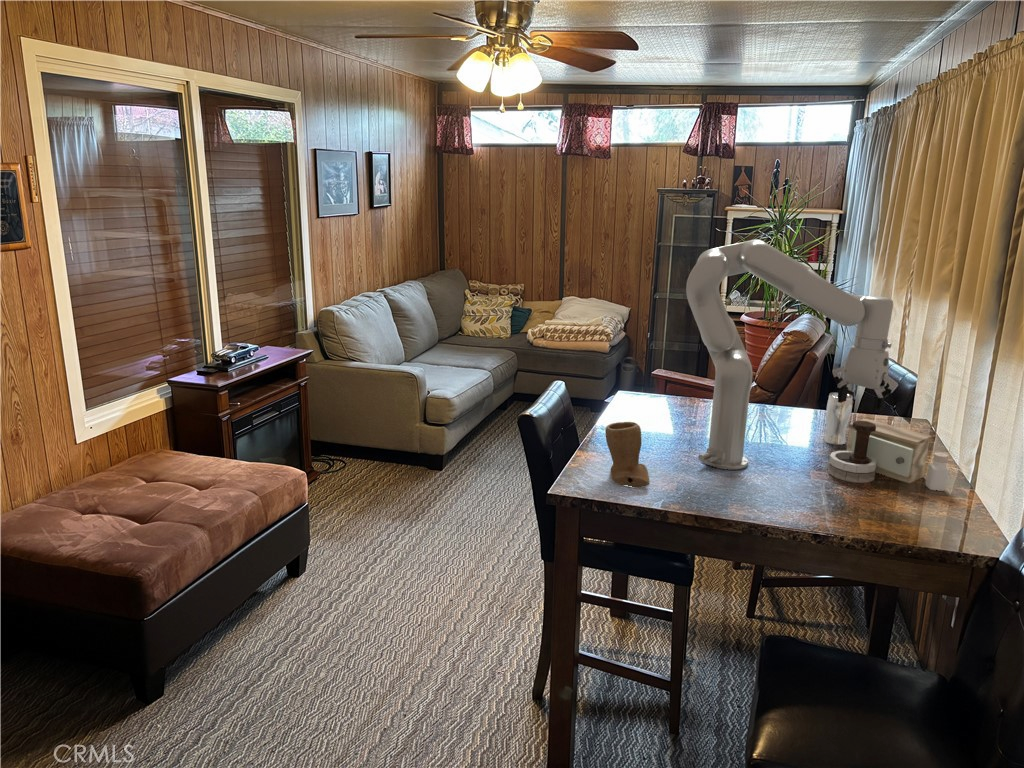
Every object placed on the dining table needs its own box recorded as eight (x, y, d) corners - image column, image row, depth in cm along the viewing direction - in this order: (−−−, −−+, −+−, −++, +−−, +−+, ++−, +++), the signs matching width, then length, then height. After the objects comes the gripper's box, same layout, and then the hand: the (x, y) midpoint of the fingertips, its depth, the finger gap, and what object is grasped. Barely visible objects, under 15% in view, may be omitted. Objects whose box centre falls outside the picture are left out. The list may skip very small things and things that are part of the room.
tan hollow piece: (603, 466, 202) (606, 415, 198) (646, 469, 200) (650, 417, 197) (602, 488, 187) (605, 433, 183) (649, 491, 186) (653, 435, 182)
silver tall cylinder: (851, 444, 224) (858, 397, 220) (834, 446, 221) (841, 399, 217) (834, 437, 230) (840, 391, 226) (817, 439, 227) (823, 393, 223)
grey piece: (881, 484, 186) (885, 456, 184) (820, 461, 201) (824, 435, 199) (908, 476, 191) (913, 449, 189) (847, 454, 206) (851, 429, 204)
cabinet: (887, 495, 186) (894, 451, 183) (819, 472, 201) (825, 431, 197) (924, 476, 199) (932, 436, 196) (858, 456, 213) (864, 418, 210)
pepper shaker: (924, 484, 193) (930, 451, 191) (940, 486, 193) (946, 452, 190) (929, 490, 190) (936, 456, 187) (946, 492, 189) (952, 457, 186)
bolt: (869, 480, 196) (878, 427, 192) (850, 478, 196) (857, 426, 193) (863, 472, 201) (871, 420, 197) (844, 470, 202) (851, 419, 198)
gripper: (910, 349, 186) (898, 412, 190) (845, 336, 199) (835, 396, 203) (896, 352, 181) (884, 417, 186) (831, 339, 194) (821, 400, 199)
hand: (859, 406), depth 194 cm, fingers open, 9 cm apart
